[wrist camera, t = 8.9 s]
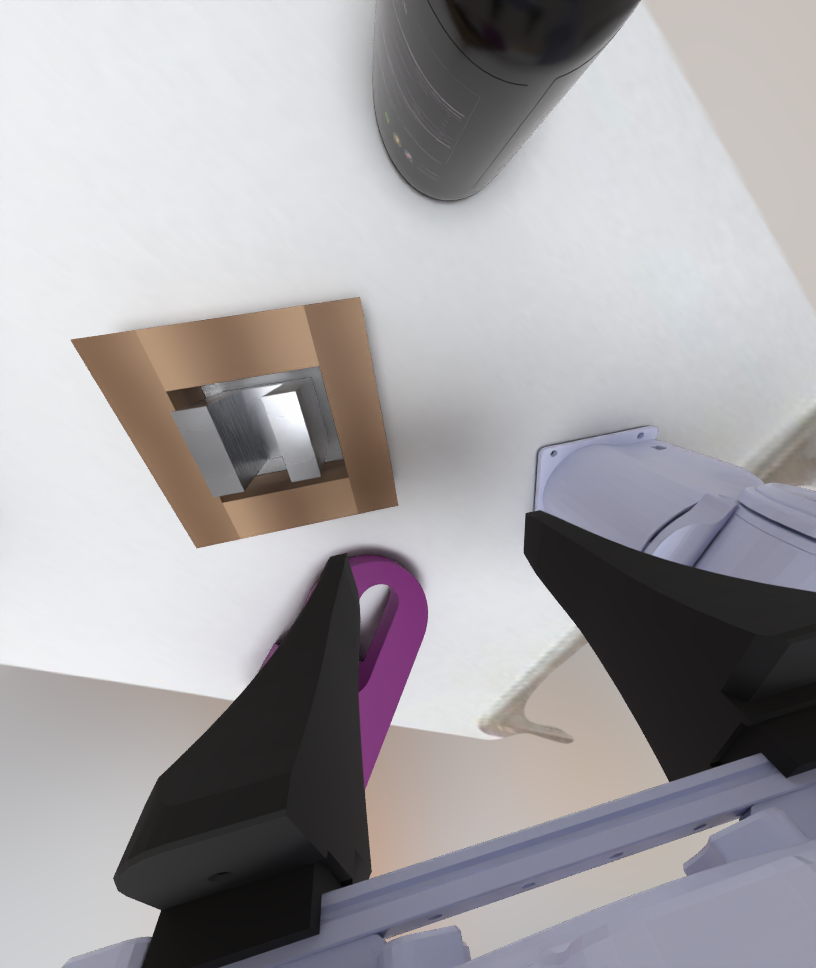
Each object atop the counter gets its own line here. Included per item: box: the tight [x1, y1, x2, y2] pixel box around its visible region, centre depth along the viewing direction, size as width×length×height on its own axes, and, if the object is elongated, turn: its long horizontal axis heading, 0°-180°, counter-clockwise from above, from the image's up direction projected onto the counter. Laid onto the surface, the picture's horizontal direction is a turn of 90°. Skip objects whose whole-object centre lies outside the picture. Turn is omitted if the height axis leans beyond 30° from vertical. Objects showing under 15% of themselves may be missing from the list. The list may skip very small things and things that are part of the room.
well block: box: [71, 297, 398, 548], centre depth 16 cm, size 12×11×3 cm
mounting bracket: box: [260, 555, 428, 788], centre depth 25 cm, size 9×8×18 cm
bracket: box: [170, 377, 329, 497], centre depth 15 cm, size 5×4×6 cm
